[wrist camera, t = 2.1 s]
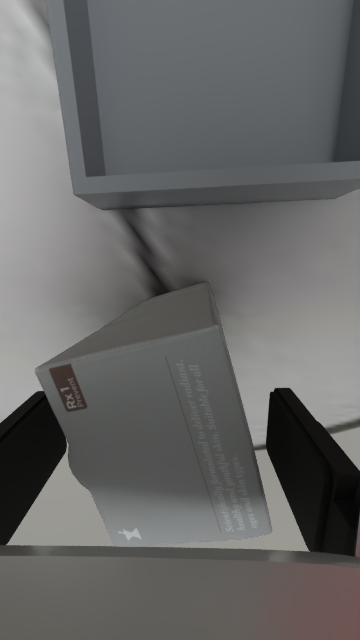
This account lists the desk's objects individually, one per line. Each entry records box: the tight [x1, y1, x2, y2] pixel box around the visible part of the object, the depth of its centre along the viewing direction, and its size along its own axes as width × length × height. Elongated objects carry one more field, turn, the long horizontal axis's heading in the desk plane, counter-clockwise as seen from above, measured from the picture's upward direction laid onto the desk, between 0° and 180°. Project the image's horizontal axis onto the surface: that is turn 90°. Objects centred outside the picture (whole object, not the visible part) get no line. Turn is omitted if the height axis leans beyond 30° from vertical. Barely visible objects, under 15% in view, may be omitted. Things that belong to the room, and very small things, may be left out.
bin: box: [46, 0, 360, 210], centre depth 14 cm, size 20×20×5 cm
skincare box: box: [35, 282, 272, 547], centre depth 15 cm, size 8×7×16 cm
